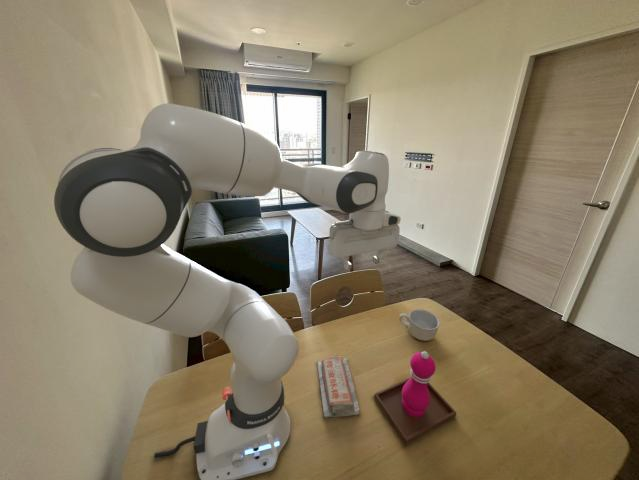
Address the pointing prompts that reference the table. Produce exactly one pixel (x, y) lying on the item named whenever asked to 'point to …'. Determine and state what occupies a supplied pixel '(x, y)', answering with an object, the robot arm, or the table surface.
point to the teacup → (421, 324)
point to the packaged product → (337, 388)
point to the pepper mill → (418, 385)
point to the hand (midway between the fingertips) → (362, 265)
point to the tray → (407, 424)
